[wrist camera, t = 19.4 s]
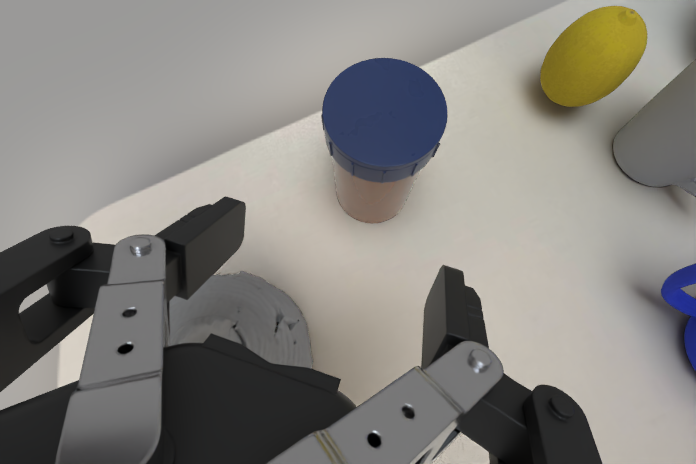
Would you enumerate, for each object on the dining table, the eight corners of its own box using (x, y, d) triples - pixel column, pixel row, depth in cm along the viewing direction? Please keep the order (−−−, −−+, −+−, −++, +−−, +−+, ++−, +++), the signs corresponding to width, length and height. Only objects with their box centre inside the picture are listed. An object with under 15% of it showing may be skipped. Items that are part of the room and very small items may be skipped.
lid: (418, 73, 19) (425, 46, 17) (453, 168, 18) (465, 150, 16) (314, 96, 19) (310, 71, 17) (340, 195, 17) (338, 179, 16)
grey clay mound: (283, 255, 27) (302, 203, 18) (316, 409, 24) (360, 447, 15) (112, 287, 23) (17, 242, 14) (126, 476, 20) (19, 587, 11)
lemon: (602, 107, 28) (699, 25, 20) (549, 137, 27) (628, 63, 20) (560, 59, 29) (635, -35, 22) (508, 86, 29) (567, -1, 21)
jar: (396, 149, 27) (420, 59, 18) (417, 213, 26) (454, 151, 16) (328, 165, 27) (317, 81, 18) (345, 231, 25) (343, 177, 16)
